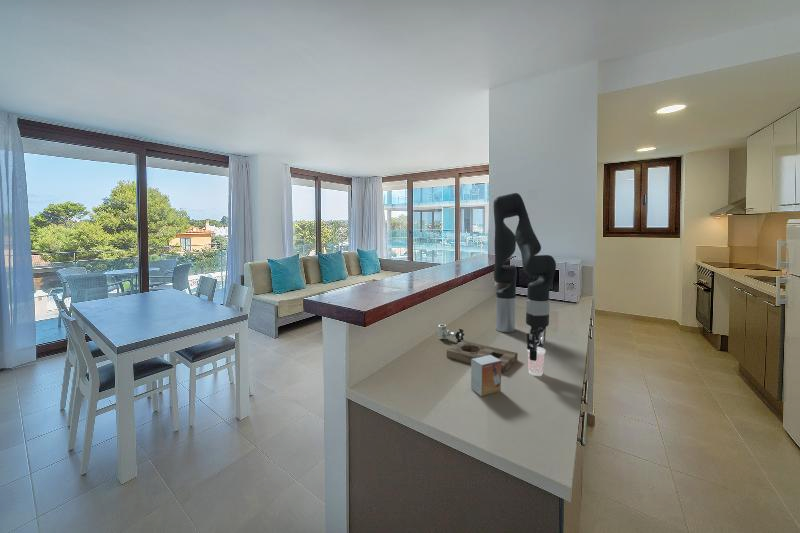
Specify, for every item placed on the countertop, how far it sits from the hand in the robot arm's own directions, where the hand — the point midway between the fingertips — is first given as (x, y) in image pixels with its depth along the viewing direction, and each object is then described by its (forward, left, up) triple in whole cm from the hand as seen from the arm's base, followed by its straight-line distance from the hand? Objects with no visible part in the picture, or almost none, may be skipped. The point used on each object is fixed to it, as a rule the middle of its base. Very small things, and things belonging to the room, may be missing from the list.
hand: (536, 356), depth 114 cm
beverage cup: (0, 0, -6) cm, 6 cm away
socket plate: (0, -21, -6) cm, 22 cm away
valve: (-10, -42, -6) cm, 44 cm away
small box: (+22, -9, -6) cm, 25 cm away
